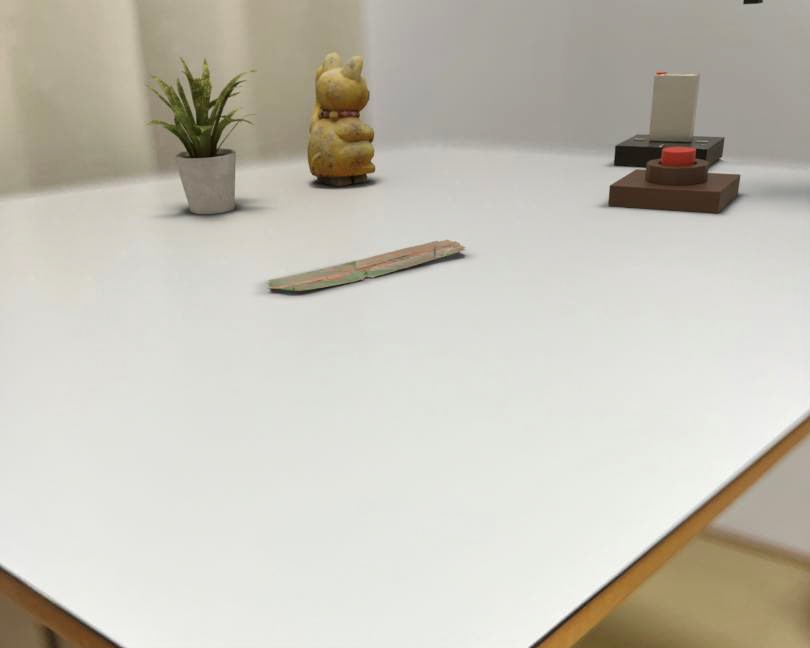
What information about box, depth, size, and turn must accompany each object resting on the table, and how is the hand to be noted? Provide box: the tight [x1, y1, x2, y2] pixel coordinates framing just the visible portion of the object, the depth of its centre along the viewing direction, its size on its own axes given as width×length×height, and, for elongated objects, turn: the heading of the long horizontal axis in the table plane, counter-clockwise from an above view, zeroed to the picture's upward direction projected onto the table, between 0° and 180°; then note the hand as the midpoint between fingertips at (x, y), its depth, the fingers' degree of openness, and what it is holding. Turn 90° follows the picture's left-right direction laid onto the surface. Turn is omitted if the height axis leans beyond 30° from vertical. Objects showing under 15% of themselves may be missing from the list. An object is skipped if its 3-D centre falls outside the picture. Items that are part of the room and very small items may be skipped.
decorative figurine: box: [306, 51, 376, 187], centre depth 118 cm, size 10×8×15 cm
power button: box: [661, 147, 696, 166], centre depth 103 cm, size 4×4×2 cm
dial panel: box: [613, 133, 726, 168], centre depth 126 cm, size 12×10×3 cm
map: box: [267, 239, 466, 292], centre depth 85 cm, size 5×20×1 cm, turn 126°
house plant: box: [144, 56, 256, 215], centre depth 106 cm, size 14×14×16 cm
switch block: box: [607, 159, 741, 214], centre depth 105 cm, size 12×10×4 cm
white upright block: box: [648, 71, 701, 142], centre depth 123 cm, size 6×2×8 cm, turn 62°
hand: (752, 3), depth 97 cm, fingers closed
